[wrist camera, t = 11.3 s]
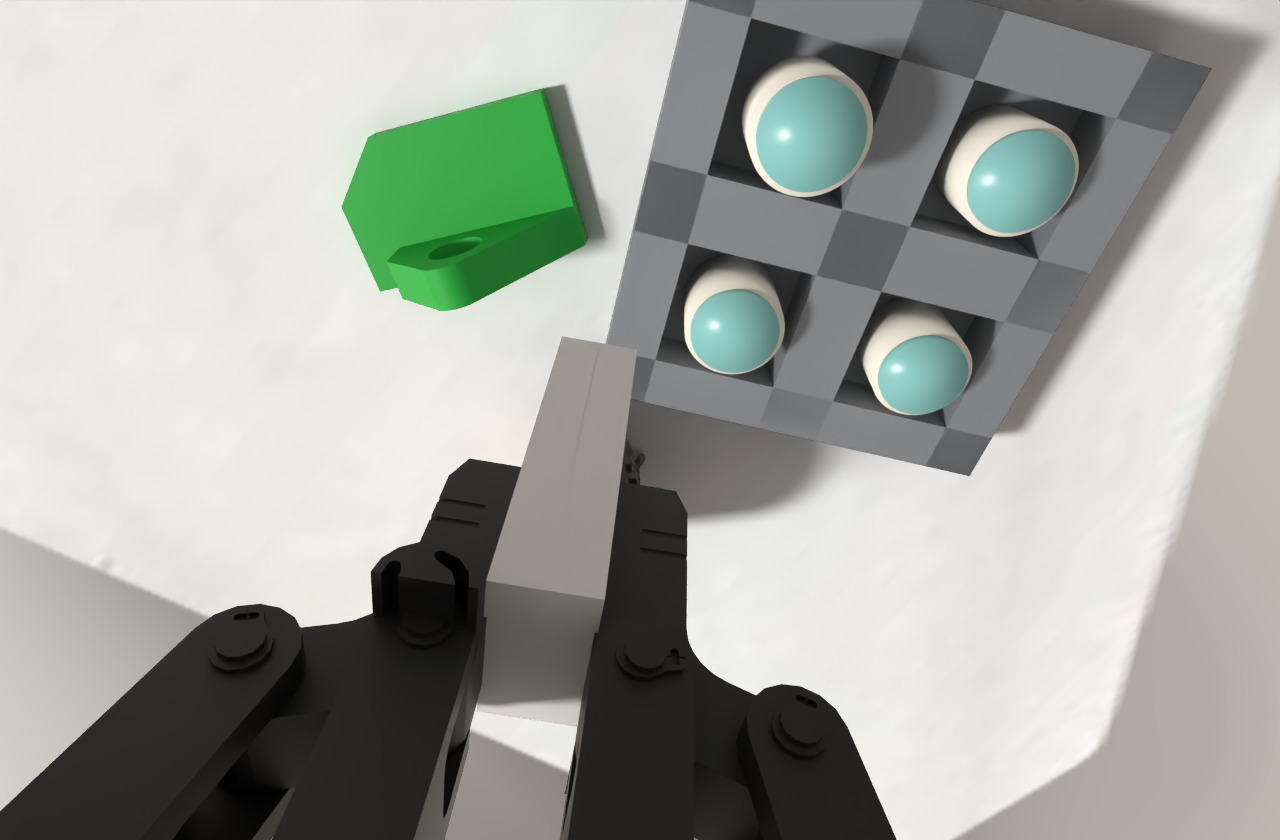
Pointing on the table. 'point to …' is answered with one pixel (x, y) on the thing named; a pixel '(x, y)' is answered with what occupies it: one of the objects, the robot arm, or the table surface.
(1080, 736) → the table surface
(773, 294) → the button
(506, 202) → the bracket
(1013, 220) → the button
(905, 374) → the button
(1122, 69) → the button board
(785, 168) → the button
